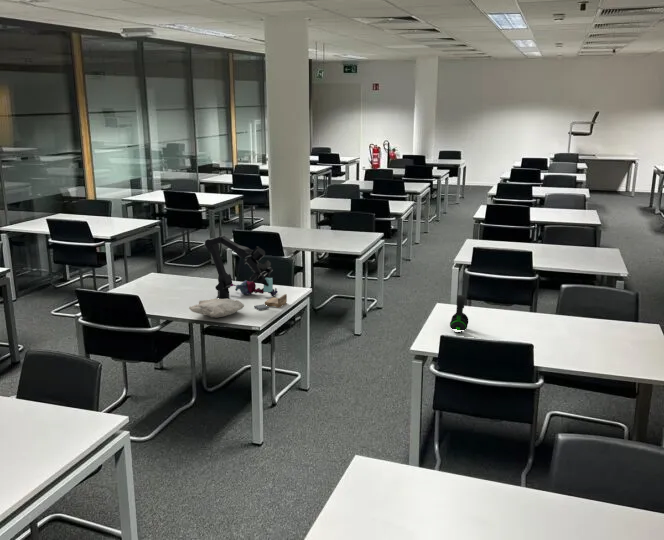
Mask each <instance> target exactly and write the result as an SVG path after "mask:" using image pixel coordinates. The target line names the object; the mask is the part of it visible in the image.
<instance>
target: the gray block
mask: <svg viewBox="0 0 664 540" xmlns="http://www.w3.org/2000/svg"><path fill="white" fill-rule="evenodd" d="M253 307H255V308H254V309H256V308H257V309H256V310H258V309H259V310H258V311H263V310H262V309H265V310H268V309H267V308H269V307H270V306H266V305H265V303H263V304H257V305H254V306H253ZM269 309H270V308H269Z"/></svg>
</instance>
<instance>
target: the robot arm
mask: <svg viewBox="0 0 664 540" xmlns="http://www.w3.org/2000/svg"><path fill="white" fill-rule="evenodd" d="M220 244H222V245H223V246H225V247H227V248H228V249H230V250H232V251H234V252H235V253H236V255H237V256H238V257H239V258H240V259H243V265H246V264H247V265H248V267H249V268H250V272H253V273H252V274H251V276H250V277H249V281H251V282H254V281H255V282H257V283H260V284H261V285H263V286H264V285H266V286H269V285H268V283H267V281H266V280H265V278H267V277H268V278H271V276H270V275H271V273H272V272H273V271H274V269H273V267H272V266H271V265H272V262H271V261H269V260H266V261H265V262H264V263H262V262H259V261H260V260H261V259H262V258H264V256H265V255H266V251H265V249H263V248H261V247H260V246H256V247H255V248H254V249H251V248H249V247H248V246H244V245H240V244H239V243H236V242H234V241H233V240H232V239H230V238H228V237H227V236H226V235H219V236H218V237H216V238H215V237H212V238H208V239H206V240H205V242H204V246H205V248H206V250H207V251H208V252H209V253H210V255H211V257H212V261H213V263H214V265H215V268H216V271H217V274H218V277H217V282H218V284H216V286H215V290H216V291H217V296H216V299H218V298H219V299H229V298H230V290H229V289H231V287H232V286H231V284H233V278H232V274H231V273H229V274H228V272H227V271H226V269H225V266H224V262H223V260H222V258H221V254H220V251H219V250H220ZM230 286H231V287H230Z"/></svg>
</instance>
